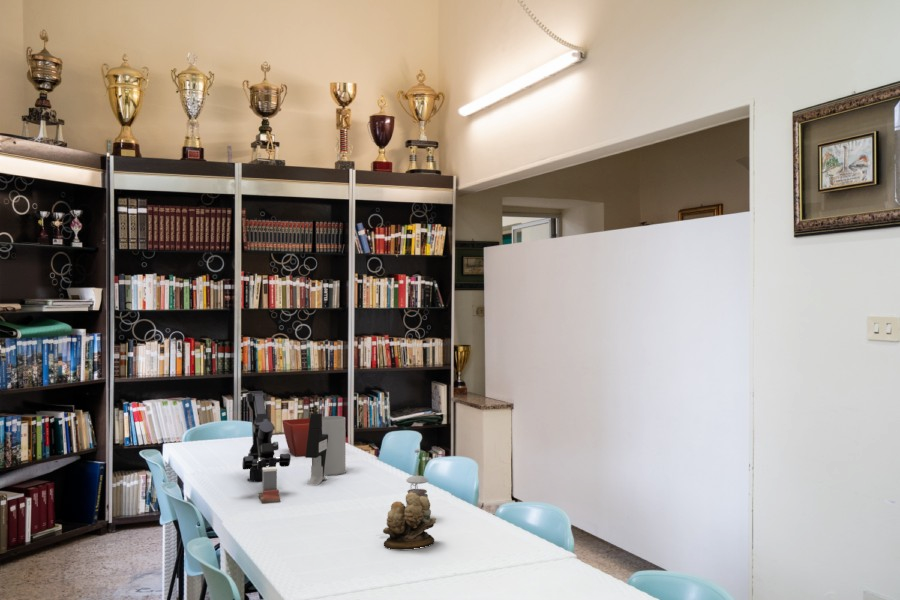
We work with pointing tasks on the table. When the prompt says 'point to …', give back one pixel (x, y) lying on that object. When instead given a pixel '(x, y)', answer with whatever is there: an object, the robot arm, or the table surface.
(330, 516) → the table surface
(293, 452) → the plant pot
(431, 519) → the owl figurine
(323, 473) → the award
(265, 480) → the gray cream rectangular block
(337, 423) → the cylinder vase
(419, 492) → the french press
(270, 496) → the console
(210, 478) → the table surface
